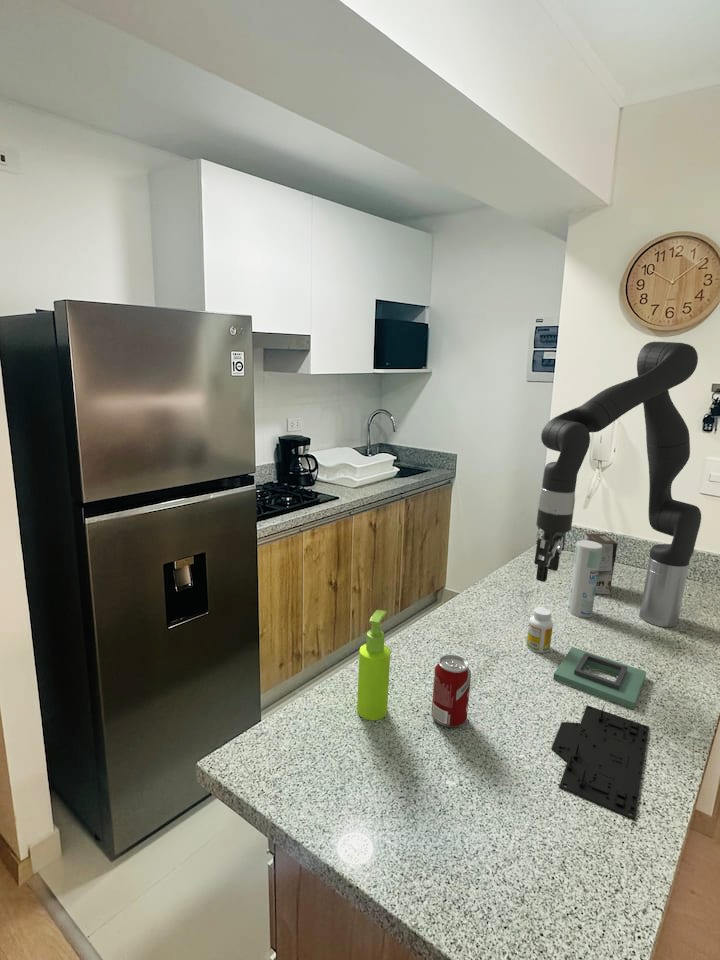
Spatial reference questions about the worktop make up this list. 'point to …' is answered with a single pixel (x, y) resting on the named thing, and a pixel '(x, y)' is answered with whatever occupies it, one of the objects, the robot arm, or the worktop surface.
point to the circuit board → (603, 759)
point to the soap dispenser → (373, 672)
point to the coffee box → (604, 561)
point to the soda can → (451, 691)
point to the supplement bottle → (540, 630)
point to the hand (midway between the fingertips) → (547, 575)
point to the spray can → (584, 578)
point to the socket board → (618, 691)
